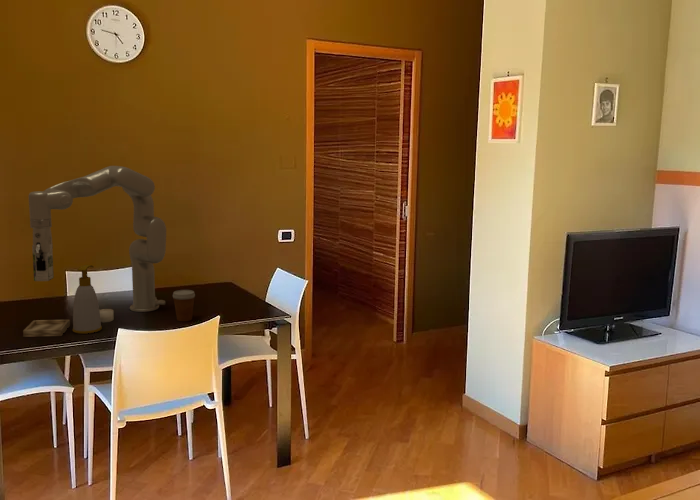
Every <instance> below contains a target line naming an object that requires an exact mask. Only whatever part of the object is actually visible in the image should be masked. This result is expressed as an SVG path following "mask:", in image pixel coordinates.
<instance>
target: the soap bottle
mask: <svg viewBox="0 0 700 500" xmlns="http://www.w3.org/2000/svg"><path fill="white" fill-rule="evenodd" d="M88 268H94V265H92V264H91V265H90V264H89V265H88V264H85V265H80V266H79V267H78V268H77V269H76V271H77V272H81V276H79V278H78V287H77V288H76V291H75V293H74V300H73V309H72V325H73V326H72V332H73V333H74V334H80V335H87V334H88V333H89V334H95V333H97V332H100V331H101V330H102V329H103V328H102V327H103V326H102V325H101V324H102V322H101V319H100V311H99V310H100V306H99V300H98V297H97V294H96V291H95V289H94V286H93V285H92V282H91V276H88ZM94 332H95V333H94Z"/></svg>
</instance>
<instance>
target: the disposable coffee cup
mask: <svg viewBox="0 0 700 500" xmlns="http://www.w3.org/2000/svg"><path fill="white" fill-rule="evenodd" d="M195 297H196V294H195V291H194V290H191V289H180V290H175V291H173V293H172V298H173V304H174V309H175V316H176V321H178V322H189V321H192V320H193V312H194V304H195V303H194V302H195Z"/></svg>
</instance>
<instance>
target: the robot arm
mask: <svg viewBox="0 0 700 500" xmlns="http://www.w3.org/2000/svg"><path fill="white" fill-rule="evenodd" d="M113 187H119V188H120V187H121V188H122V190H123V192H124V193H126V194H127V195H128V196H129V197H130V198H131V200H132V203H133V222H132V225H133V231H134V234H135V235H137V236H140V237H142V238H138V239H135V240H133V241H132V242H131V243H130V245H129V249H128V252H129V253H128V254H129V259H130V262H131V278H132V280H131V281H132V302H133V303H132V304H131V305H130V306H129V310H130V311H132V312H139V313H140V312H141V313H142V312H143V313H144V312H145V313H146V312H147V313H148V312H154V311H156V310H158V309H159V308H160V306H161V305H162V306H165V305H166V300H163V299H157V296H156V290H155V287H156V286H155V281H156V280H155V266H154V264H158V263H160V262H162V261H163V260H164V258H165V254H166V247H167V245H166V244H167V227H166V224H165V221H164V220H163V219H162V218H161V217H158V216H155V209H154V206H155V205H154V199H153V197H152V195H153V194H154V192H155V189H156V186H155V182H154V181H153V180H152V179H151V177H148V176H147V175H144V174H142V173H140V172H137V171H135V170H133V169H131V168H129V167H126V166H122V165H121V166H120V165H109V166H106V167H103V168H102V169H99V170H96V171H94V172H91V173H90V174H87V175H84V176H81V177H77V178H73V179H70V180H68V181H62V182H61V183H57V184H54V185H52V186H50V187H48V188H46V189H45V190H43V191H42V190H41V191H35V190H34V191H31V192H29V194H28V209H29V225H30V228H31V229H32V245H33V249H34V253H35V254H36V266H37V271H45V270H46V264H45V260H44V252H45V253H48V252H49V251H50V244H51V243H52V250H53V248H54V246H53V237H52V236H53V235H52V229H51V228H52V227H53V226H52V225H53V224H52V212H51V211H52V210H67V209H68V208H70V207H71V206H72V205H73V202H74V199H76V198H88V197H94V196H96V195H98V194H100V193H102V192H103V193H104V191H107V190H109V189H112V188H113ZM143 237H144V238H146V239H144V238H143ZM35 250H36V251H35ZM40 251H43V253H40ZM41 255H42V256H41Z"/></svg>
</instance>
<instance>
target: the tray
mask: <svg viewBox="0 0 700 500" xmlns="http://www.w3.org/2000/svg"><path fill="white" fill-rule="evenodd" d="M70 326H71V320H70V319H40V320H39V319H37V320H35V319H34V320H32V321H31V322H30V323H29V324H28V325H27V326H26V327H25V328H24V329H23V330H22V333H23V335H22V337H24V338H29V337H31V338H32V337H34V338H35V337H62V336H63V335H64V334H63V333H66V331H67V330H68V329H67V328H69V327H70Z"/></svg>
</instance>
